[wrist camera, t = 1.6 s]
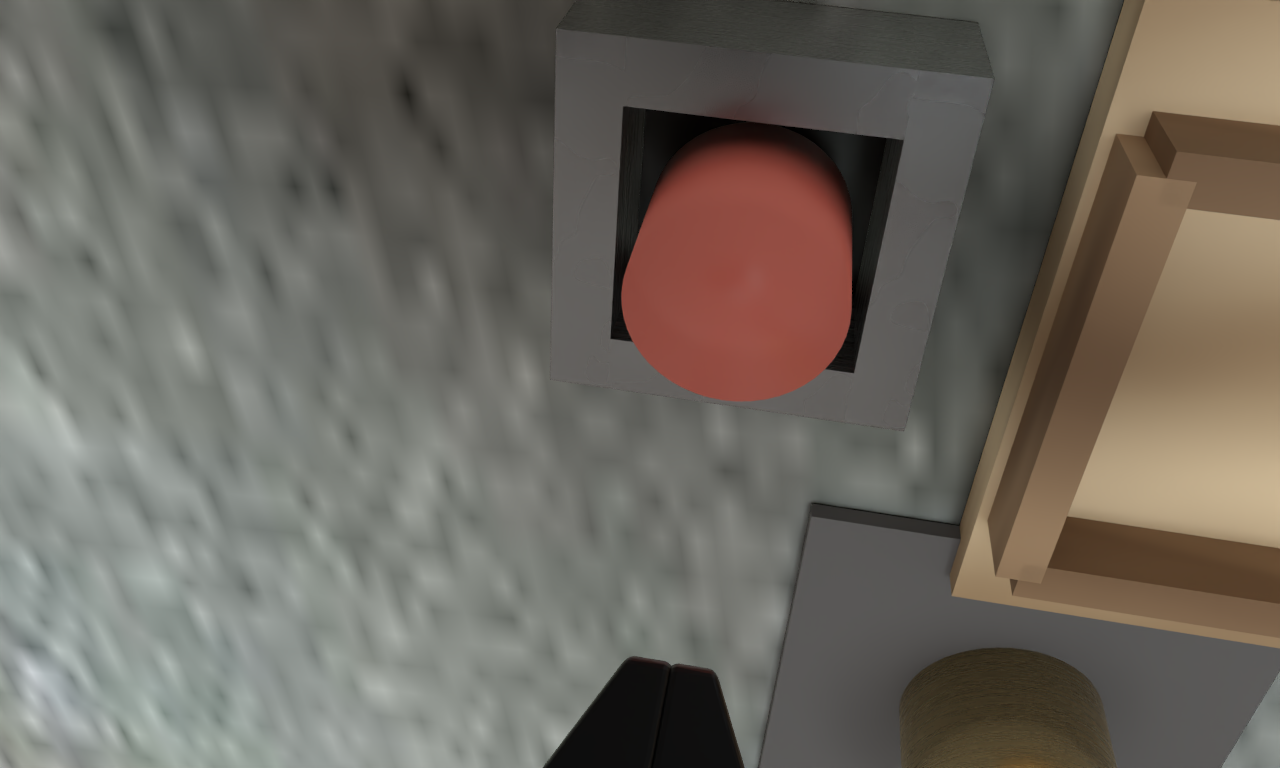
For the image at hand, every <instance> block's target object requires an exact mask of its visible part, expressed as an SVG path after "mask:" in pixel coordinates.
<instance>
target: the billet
mask: <svg viewBox="0 0 1280 768" xmlns="http://www.w3.org/2000/svg"><path fill="white" fill-rule="evenodd" d="M899 718H900V745H901V768H1117V765H1116V761H1115V756H1114V752H1113V747H1112V743H1111V739H1110V734H1109V730H1108V725H1107V721H1106V716H1105V712H1104V707H1103V704H1102V700H1101V697H1100V695H1099V693H1098V691H1097V689H1096V688H1095V687H1094V685H1093V684H1092V682H1091V681H1090V680H1089V679H1088V678H1087V677H1086V676H1085V675H1084V674H1082V673H1081V672H1080V671H1078V670H1077V669H1076V668H1074V667H1072V666H1071V665H1069V664H1067V663H1065V662H1064V661H1061V660H1059V659H1057V658H1054V657H1052V656H1049V655H1045V654H1042V653H1039V652H1034V651H1030V650H1025V649H1016V648H982V649H975V650H969V651H965V652H961V653H957V654H954V655H951V656H948V657H945V658H943V659H941V660H939V661H936V662H934V663H933V664H931V665H929V666H928V667H926V668H925V669H923V670H922V671H921V672H920V673H918V674H917V675H916V676H915V677H914V678H913V679H912V680H911V681H910V683H909V684H908V686H907V687H906V689H905V690H904V692H903V695H902V697H901V701H900V706H899Z"/></svg>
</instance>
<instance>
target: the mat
mask: <svg viewBox="0 0 1280 768" xmlns="http://www.w3.org/2000/svg"><path fill="white" fill-rule="evenodd" d="M960 541H961V536H960V527H959V526H955V525H949V524H942V523H936V522H929V521H923V520H916V519H910V518H903V517H897V516H890V515H884V514H877V513H870V512H864V511H857V510H851V509H844V508H838V507H831V506H825V505H818V504H812V506H811V511H810V516H809V521H808V526H807V531H806V536H805V541H804V545H803V550H802V555H801V560H800V565H799V570H798V575H797V580H796V585H795V590H794V594H793V599H792V604H791V609H790V614H789V619H788V624H787V629H786V634H785V639H784V643H783V648H782V653H781V658H780V663H779V668H778V673H777V678H776V683H775V688H774V692H773V697H772V702H771V707H770V712H769V717H768V722H767V727H766V732H765V736H764V741H763V746H762V751H761V756H760V761H759V766H758V768H901V745H900V718H899V706H900V701H901V697H902V695H903V692H904V690H905V689H906V687H907V686H908V684H909V683H910V681H911V680H912V679H913V678H914V677H915V676H916V675H917V674H918V673H920V672H921V671H922V670H923V669H925V668H926V667H928V666H929V665H931V664H933V663H934V662H936V661H939V660H941V659H943V658H945V657H948V656H951V655H954V654H957V653H961V652H965V651H969V650H975V649H982V648H1016V649H1025V650H1030V651H1034V652H1039V653H1042V654H1045V655H1049V656H1052V657H1054V658H1057V659H1059V660H1061V661H1064V662H1065V663H1067V664H1069V665H1071V666H1072V667H1074V668H1076V669H1077V670H1078V671H1080V672H1081V673H1082V674H1084V675H1085V676H1086V677H1087V678H1088V679H1089V680H1090V681H1091V682H1092V684H1093V685H1094V687H1095V688H1096V689H1097V691H1098V693H1099V695H1100V697H1101V700H1102V704H1103V707H1104V712H1105V716H1106V721H1107V725H1108V730H1109V734H1110V739H1111V743H1112V747H1113V752H1114V756H1115V761H1116V765H1117V768H1221V767H1222V765H1223V763H1224V762H1225V760H1226V758H1227V757H1228V755H1229V753H1230V752H1231V750H1232V749H1233V747H1234V745H1235V744H1236V742H1237V740H1238V739H1239V737H1240V735H1241V734H1242V732H1243V730H1244V729H1245V727H1246V726H1247V724H1248V722H1249V721H1250V719H1251V717H1252V716H1253V714H1254V712H1255V711H1256V709H1257V708H1258V706H1259V704H1260V703H1261V701H1262V699H1263V698H1264V696H1265V694H1266V693H1267V691H1268V689H1269V688H1270V686H1271V685H1272V683H1273V681H1274V680H1275V678H1276V676H1277V675H1278V673H1279V671H1280V648H1274V647H1268V646H1262V645H1256V644H1249V643H1243V642H1237V641H1230V640H1224V639H1218V638H1212V637H1205V636H1199V635H1193V634H1187V633H1180V632H1174V631H1168V630H1162V629H1155V628H1149V627H1143V626H1137V625H1130V624H1124V623H1118V622H1111V621H1105V620H1099V619H1093V618H1086V617H1080V616H1074V615H1068V614H1061V613H1055V612H1049V611H1043V610H1036V609H1030V608H1024V607H1018V606H1011V605H1005V604H999V603H992V602H986V601H980V600H974V599H967V598H961V597H955V596H952V594H951V584H950V572H951V569H952V566H953V563H954V560H955V557H956V553H957V550H958V547H959V544H960Z"/></svg>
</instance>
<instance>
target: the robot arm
mask: <svg viewBox="0 0 1280 768" xmlns="http://www.w3.org/2000/svg"><path fill="white" fill-rule="evenodd" d="M543 768H744V764H743V761H742V757H741V754H740V751H739V747H738V744H737V740H736V737H735V734H734V730H733V727H732V723H731V720H730V717H729V713H728V710H727V706H726V703H725V699H724V696H723V693H722V689H721V686H720V682H719V679H718V677H717V675H716V673H715V672H714V671H713V670H711V669H708V668H702V667H696V666H690V665H684V664H674V665H672V666H671V665H670V664H669V663H668V662H666V661H660V660H654V659H649V658H643V657H637V656H632V657H629V658H627V659H626V660H625V661H624V662H623V663H622V664H621V665H620V667H619V668H618V669H617V671H616V672H615V673H614V675H613V676H612V677H611V678H610V680H609V681H608V682H607V684H606V685H605V686H604V688H603V689H602V690H601V692H600V693H599V694H598V696H597V697H596V698H595V700H594V701H593V702H592V703H591V705H590V706H589V707H588V709H587V710H586V711H585V713H584V714H583V715H582V717H581V718H580V719H579V721H578V722H577V723H576V725H575V726H574V727H573V728H572V730H571V731H570V732H569V734H568V735H567V736H566V738H565V739H564V740H563V742H562V743H561V744H560V746H559V747H558V748H557V749H556V751H555V752H554V753H553V755H552V756H551V757H550V759H549V760H548V761H547V763H546V764H545V765H544V767H543Z"/></svg>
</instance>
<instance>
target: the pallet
mask: <svg viewBox="0 0 1280 768" xmlns="http://www.w3.org/2000/svg"><path fill="white" fill-rule="evenodd" d="M959 527H960V536H961V541H960V544H959V547H958V550H957V553H956V557H955V560H954V563H953V566H952V569H951V572H950V584H951V594H952V596H955V597H961V598H967V599H974V600H980V601H986V602H992V603H999V604H1005V605H1011V606H1018V607H1024V608H1030V609H1036V610H1043V611H1049V612H1055V613H1061V614H1068V615H1074V616H1080V617H1086V618H1093V619H1099V620H1105V621H1111V622H1118V623H1124V624H1130V625H1137V626H1143V627H1149V628H1155V629H1162V630H1168V631H1174V632H1180V633H1187V634H1193V635H1199V636H1205V637H1212V638H1218V639H1224V640H1230V641H1237V642H1243V643H1249V644H1256V645H1262V646H1268V647H1274V648H1280V0H1124V3H1123V7H1122V10H1121V13H1120V16H1119V19H1118V23H1117V26H1116V29H1115V32H1114V35H1113V39H1112V42H1111V45H1110V48H1109V51H1108V54H1107V58H1106V61H1105V64H1104V67H1103V70H1102V74H1101V77H1100V80H1099V83H1098V86H1097V89H1096V93H1095V96H1094V99H1093V102H1092V105H1091V109H1090V112H1089V115H1088V118H1087V121H1086V125H1085V128H1084V131H1083V134H1082V137H1081V140H1080V144H1079V147H1078V150H1077V153H1076V156H1075V160H1074V163H1073V166H1072V169H1071V172H1070V175H1069V179H1068V182H1067V185H1066V188H1065V191H1064V195H1063V198H1062V201H1061V204H1060V207H1059V211H1058V214H1057V217H1056V220H1055V223H1054V226H1053V230H1052V233H1051V236H1050V239H1049V242H1048V246H1047V249H1046V252H1045V255H1044V258H1043V261H1042V265H1041V268H1040V271H1039V274H1038V277H1037V281H1036V284H1035V287H1034V290H1033V293H1032V297H1031V300H1030V303H1029V306H1028V309H1027V312H1026V316H1025V319H1024V322H1023V325H1022V328H1021V332H1020V335H1019V338H1018V341H1017V344H1016V347H1015V351H1014V354H1013V357H1012V360H1011V363H1010V367H1009V370H1008V373H1007V376H1006V379H1005V383H1004V386H1003V389H1002V392H1001V395H1000V398H999V402H998V405H997V408H996V411H995V414H994V418H993V421H992V424H991V427H990V430H989V434H988V437H987V440H986V443H985V446H984V449H983V453H982V456H981V459H980V462H979V465H978V469H977V472H976V475H975V478H974V481H973V484H972V488H971V491H970V494H969V497H968V500H967V504H966V507H965V510H964V513H963V516H962V520H961V523H960V526H959Z"/></svg>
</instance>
